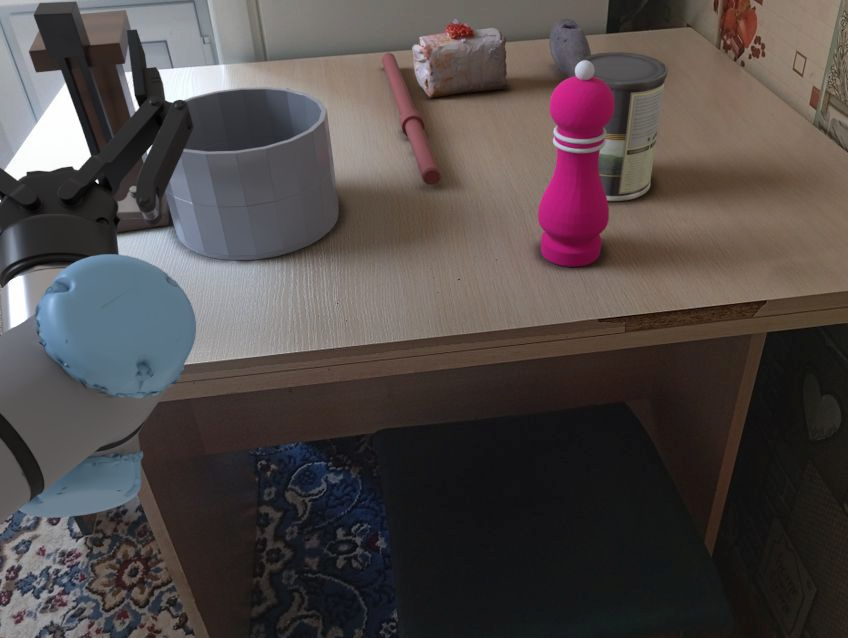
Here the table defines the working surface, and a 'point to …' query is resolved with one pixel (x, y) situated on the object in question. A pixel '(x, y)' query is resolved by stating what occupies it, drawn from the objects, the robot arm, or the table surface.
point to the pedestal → (105, 90)
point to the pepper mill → (576, 170)
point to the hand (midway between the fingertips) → (44, 50)
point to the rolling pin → (411, 122)
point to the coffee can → (629, 121)
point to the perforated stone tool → (567, 45)
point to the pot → (254, 174)
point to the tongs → (69, 40)
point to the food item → (460, 61)
